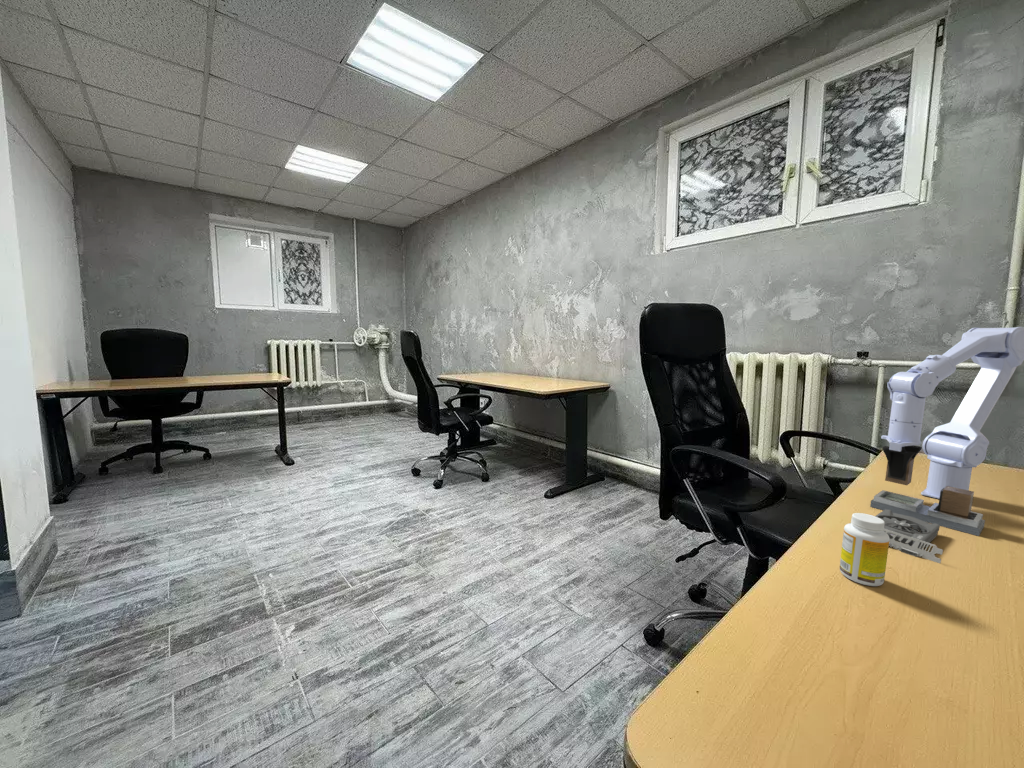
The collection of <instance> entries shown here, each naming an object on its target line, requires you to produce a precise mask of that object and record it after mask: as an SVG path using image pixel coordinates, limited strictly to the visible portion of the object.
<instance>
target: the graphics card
mask: <svg viewBox="0 0 1024 768" xmlns="http://www.w3.org/2000/svg"><path fill="white" fill-rule="evenodd" d="M874 516H875V517H878V518H880V519H882V520H883V521H884V522H885V524H884V532H886V533H887V534H888V536H889V546H890V547H889V548H892V547H893V548H892V549H895V550H897V551H900V552H901V553H904V554H906V555H910V556H913V557H916V558H917V557H919V558H922V559H925V560H929V561H931V562H934V563H937V564H941V562H942V558H940V557H937V556H936V555H935V554H937V555H941V556H942V555H943V553H944V552H943V551H944V550H943V549H942V548H939V547H938V546H937V545H936V544H933V543H931V542H932V541H933V540H934V539H936V537H937V536H938V533H939V531H940V527H941V526H940V525H939V524H936V523H933V524H932V523H928V522H925V521H922V520H919V519H916V518H914V517H910V516H906V515H901V514H897V513H892V512H891V510H886V509H885V510H881V512H879V513H877V514H876V515H874ZM924 548H925V549H924ZM927 549H928V550H927Z"/></svg>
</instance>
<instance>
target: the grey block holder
mask: <svg viewBox="0 0 1024 768" xmlns="http://www.w3.org/2000/svg"><path fill="white" fill-rule="evenodd" d="M974 494H975V491H972V490H964V489H959V488H955V487H950V486H946V487H945V488H943V489H942V490H941V492H940V498H939V499H938V502H934V503H933V504H932V505H931V506H929V505H925V504H924V501H925V499H921V498H918V497H913V496H909V495H905V494H901V493H896V492H893V491H892V492H891V491H888V490H883V489H882V490H881V491H880V492H878V493H877V494H874V496H873V499H871V500H870V506H869V507H870V508H872V509H873V508H874V509H877V510H880V511H884V510H885V509H886V510H891V512H892V513H897V514H901V515H906V516H910V517H914V518H916V519H919V520H922V521H925V522H927V523H930V524H933V523H936V524H939V525H940V527H944V528H948V529H951V530H955V531H959V532H962V533H965V534H969V535H974V536H976V537H980V535H981V533H982V532H983V529H984V528H985V523H986V520H985V519H983V517H984V514H982V513H980V512H976V511H972V507H973V500H974V496H975V495H974Z"/></svg>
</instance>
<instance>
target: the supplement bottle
mask: <svg viewBox="0 0 1024 768" xmlns="http://www.w3.org/2000/svg"><path fill="white" fill-rule="evenodd" d="M875 516H876V515H872V514H868V513H862V512H855V513H854V512H853V513H852V515H851V520H850V523H846V524H845V525H844V527H843V533H842V543H841V551H840V561H839V571H840V573H841V574H842V575H843V576H844V577H845V578H847V579H848V580H851V581H853V582H855V583H858V584H861V585H864V586H869V587H878V586H879V587H880V586H882V585H883V584H884V582H885V576H886V569H887V563H888V562H887V561H888V554H889V548H890V547H889V536H888V534H887V533H886V532H884V524H885V522H884V521H883V520H882V519H880V518H878V517H875Z"/></svg>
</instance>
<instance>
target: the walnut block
mask: <svg viewBox="0 0 1024 768" xmlns="http://www.w3.org/2000/svg"><path fill="white" fill-rule="evenodd" d="M914 462H915V458H914V459H912V458H911V459H910V460H909V462H908V464H907V467H906V470H905V473H904V475H903V477H902V478H897V477H892V476H890V473H889V466H888V461H887V462H886V463H887V464H886V471H885V479H884V481H886V482H890V483H893V484H894V483H895V484H900V485H903V486H908V485H910V484H911V483H912V479H913V478H912V476H913V469H914Z"/></svg>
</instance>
